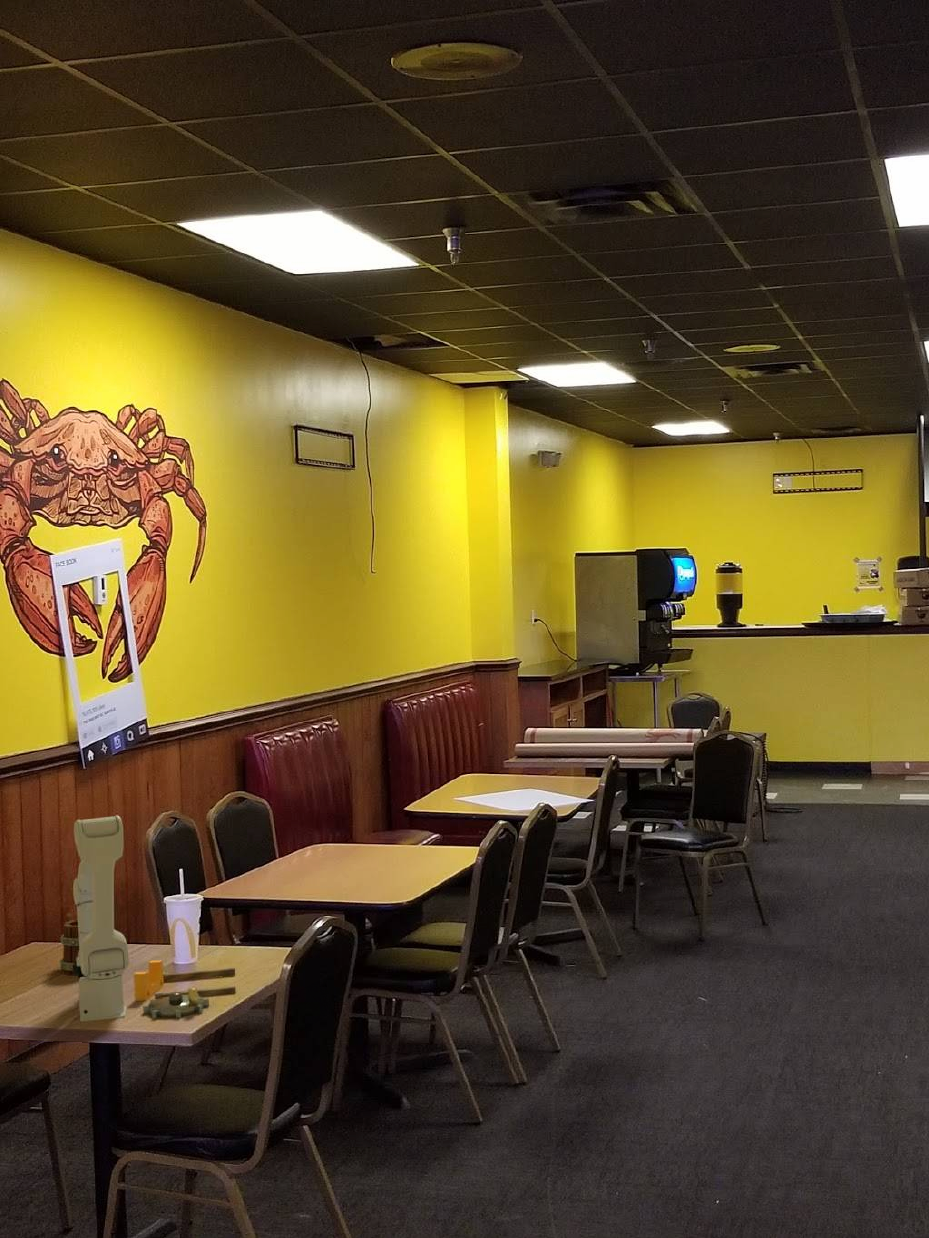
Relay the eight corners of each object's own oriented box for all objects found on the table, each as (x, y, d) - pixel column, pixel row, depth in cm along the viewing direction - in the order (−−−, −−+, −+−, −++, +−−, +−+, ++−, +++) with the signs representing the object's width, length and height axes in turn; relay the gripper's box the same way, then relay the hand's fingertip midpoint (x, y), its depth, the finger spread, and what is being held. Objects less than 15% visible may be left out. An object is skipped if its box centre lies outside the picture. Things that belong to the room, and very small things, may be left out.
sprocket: (129, 1015, 315) (128, 992, 315) (173, 997, 327) (172, 975, 327) (179, 1021, 308) (178, 998, 308) (222, 1003, 320) (221, 981, 320)
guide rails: (155, 1001, 326) (154, 993, 326) (159, 981, 344) (158, 973, 344) (235, 994, 329) (235, 985, 328) (235, 973, 346) (234, 965, 346)
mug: (71, 978, 350) (63, 916, 351) (50, 977, 361) (43, 917, 363) (116, 968, 357) (109, 907, 359) (94, 968, 368) (87, 909, 370)
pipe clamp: (146, 987, 339) (144, 960, 339) (163, 987, 338) (162, 960, 338) (128, 1002, 327) (126, 974, 327) (146, 1002, 326) (144, 973, 326)
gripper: (96, 937, 324) (99, 997, 325) (118, 922, 339) (122, 979, 339) (66, 938, 325) (69, 998, 325) (90, 923, 340) (93, 980, 340)
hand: (94, 989), depth 332 cm, fingers open, 7 cm apart
